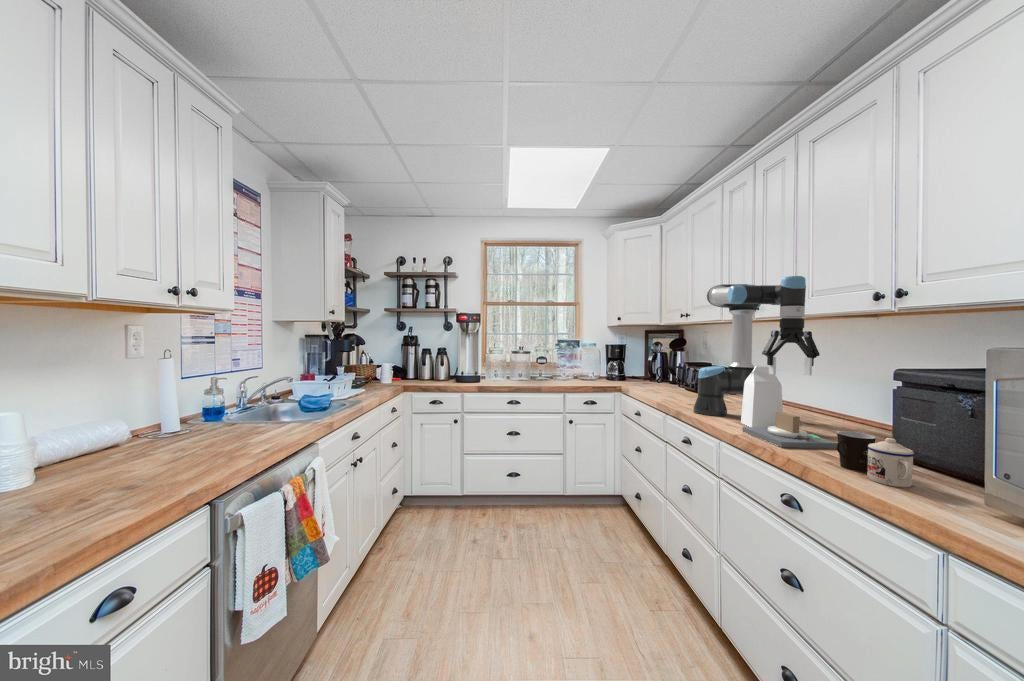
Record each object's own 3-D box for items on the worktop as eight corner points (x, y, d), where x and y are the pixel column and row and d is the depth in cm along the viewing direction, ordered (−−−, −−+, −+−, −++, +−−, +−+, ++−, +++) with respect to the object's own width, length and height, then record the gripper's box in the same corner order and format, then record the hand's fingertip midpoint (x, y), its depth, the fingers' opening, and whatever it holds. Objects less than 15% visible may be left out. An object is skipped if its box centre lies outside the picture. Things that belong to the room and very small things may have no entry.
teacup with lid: (858, 474, 110) (859, 433, 110) (896, 477, 108) (898, 435, 108) (888, 490, 98) (890, 444, 98) (932, 494, 96) (934, 448, 96)
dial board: (742, 431, 157) (742, 426, 157) (791, 432, 157) (791, 427, 157) (781, 447, 135) (781, 441, 135) (837, 448, 135) (838, 442, 135)
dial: (760, 429, 152) (761, 410, 152) (790, 430, 152) (791, 411, 152) (791, 441, 136) (791, 419, 136) (824, 441, 136) (825, 420, 136)
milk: (751, 428, 164) (753, 366, 163) (740, 422, 175) (742, 364, 174) (783, 430, 161) (785, 368, 161) (770, 424, 173) (772, 365, 172)
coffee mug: (858, 464, 119) (860, 431, 119) (882, 474, 110) (884, 439, 110) (818, 462, 120) (819, 429, 120) (838, 471, 111) (839, 437, 111)
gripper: (765, 316, 141) (763, 374, 142) (833, 318, 142) (830, 376, 142) (752, 317, 149) (750, 372, 149) (816, 319, 149) (814, 374, 150)
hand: (789, 374), depth 146 cm, fingers open, 13 cm apart
